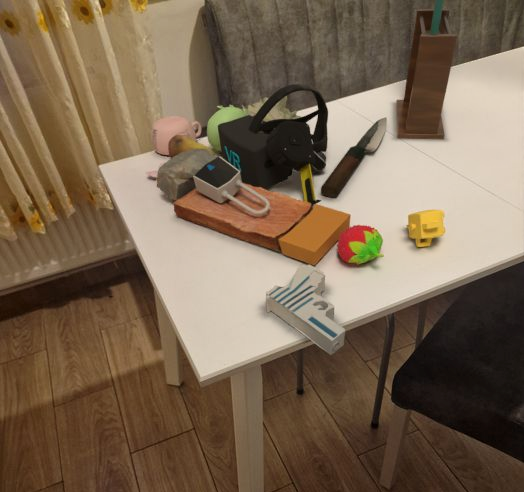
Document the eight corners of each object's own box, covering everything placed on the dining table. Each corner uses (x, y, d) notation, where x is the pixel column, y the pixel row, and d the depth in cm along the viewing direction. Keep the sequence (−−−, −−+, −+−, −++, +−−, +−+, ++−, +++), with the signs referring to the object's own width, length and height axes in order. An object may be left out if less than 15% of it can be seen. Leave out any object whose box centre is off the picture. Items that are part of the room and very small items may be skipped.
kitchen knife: (346, 189, 93) (321, 184, 95) (345, 200, 95) (320, 195, 97) (397, 113, 114) (375, 110, 116) (395, 123, 116) (374, 120, 118)
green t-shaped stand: (406, 46, 109) (419, -48, 97) (453, 46, 107) (473, -50, 95) (407, 55, 105) (421, -41, 93) (456, 55, 103) (477, -43, 91)
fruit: (168, 126, 104) (226, 132, 106) (169, 147, 110) (223, 152, 111) (167, 147, 102) (225, 153, 104) (167, 167, 108) (223, 172, 109)
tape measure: (297, 133, 95) (262, 128, 91) (311, 122, 91) (275, 115, 87) (309, 208, 94) (274, 206, 90) (323, 200, 91) (288, 197, 86)
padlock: (219, 153, 91) (279, 190, 85) (222, 172, 95) (280, 208, 89) (192, 174, 89) (252, 213, 83) (197, 192, 93) (254, 230, 87)
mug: (140, 119, 111) (147, 145, 115) (157, 132, 105) (163, 160, 109) (189, 106, 115) (193, 132, 119) (208, 117, 109) (212, 145, 113)
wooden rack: (396, 103, 124) (409, 8, 109) (437, 104, 122) (457, 8, 108) (397, 138, 111) (412, 36, 97) (443, 139, 110) (466, 36, 95)
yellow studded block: (428, 242, 88) (401, 247, 88) (426, 209, 87) (398, 213, 86) (452, 244, 81) (422, 249, 80) (450, 207, 79) (420, 212, 79)
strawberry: (324, 223, 80) (364, 251, 74) (360, 210, 83) (402, 236, 77) (322, 254, 84) (360, 283, 78) (357, 240, 87) (396, 267, 81)
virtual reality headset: (214, 166, 108) (202, 94, 97) (300, 134, 115) (298, 63, 103) (259, 203, 97) (252, 126, 86) (351, 165, 103) (355, 88, 92)
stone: (191, 149, 102) (206, 129, 95) (215, 182, 104) (231, 166, 97) (146, 177, 96) (159, 158, 90) (172, 212, 98) (187, 196, 91)
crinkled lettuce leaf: (283, 124, 127) (231, 134, 121) (280, 91, 123) (227, 100, 117) (320, 127, 115) (264, 139, 109) (318, 90, 111) (260, 100, 105)
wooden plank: (313, 268, 82) (313, 252, 79) (174, 218, 94) (170, 202, 91) (349, 228, 89) (351, 212, 86) (216, 186, 101) (214, 171, 98)
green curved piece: (206, 84, 101) (190, 112, 111) (220, 138, 101) (202, 161, 111) (258, 85, 107) (237, 111, 116) (270, 136, 107) (249, 158, 117)
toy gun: (306, 261, 78) (258, 291, 74) (378, 307, 70) (329, 343, 66) (306, 276, 80) (259, 306, 76) (376, 322, 73) (328, 358, 69)
